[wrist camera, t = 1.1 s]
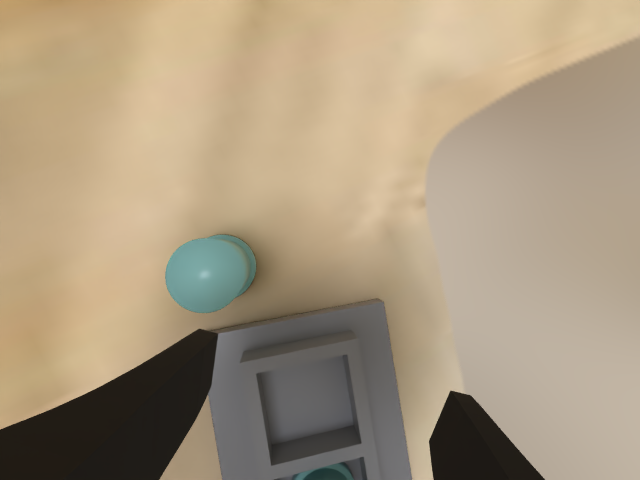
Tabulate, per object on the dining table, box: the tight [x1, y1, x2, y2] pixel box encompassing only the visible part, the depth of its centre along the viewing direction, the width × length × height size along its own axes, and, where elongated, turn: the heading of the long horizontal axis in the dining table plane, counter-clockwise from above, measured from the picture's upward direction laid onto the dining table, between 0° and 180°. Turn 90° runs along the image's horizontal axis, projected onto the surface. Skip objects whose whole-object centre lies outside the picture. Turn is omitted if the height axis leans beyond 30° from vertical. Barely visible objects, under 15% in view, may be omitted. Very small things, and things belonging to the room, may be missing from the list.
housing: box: [208, 299, 412, 480], centre depth 21 cm, size 12×16×3 cm
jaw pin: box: [165, 235, 256, 313], centre depth 19 cm, size 4×4×6 cm
